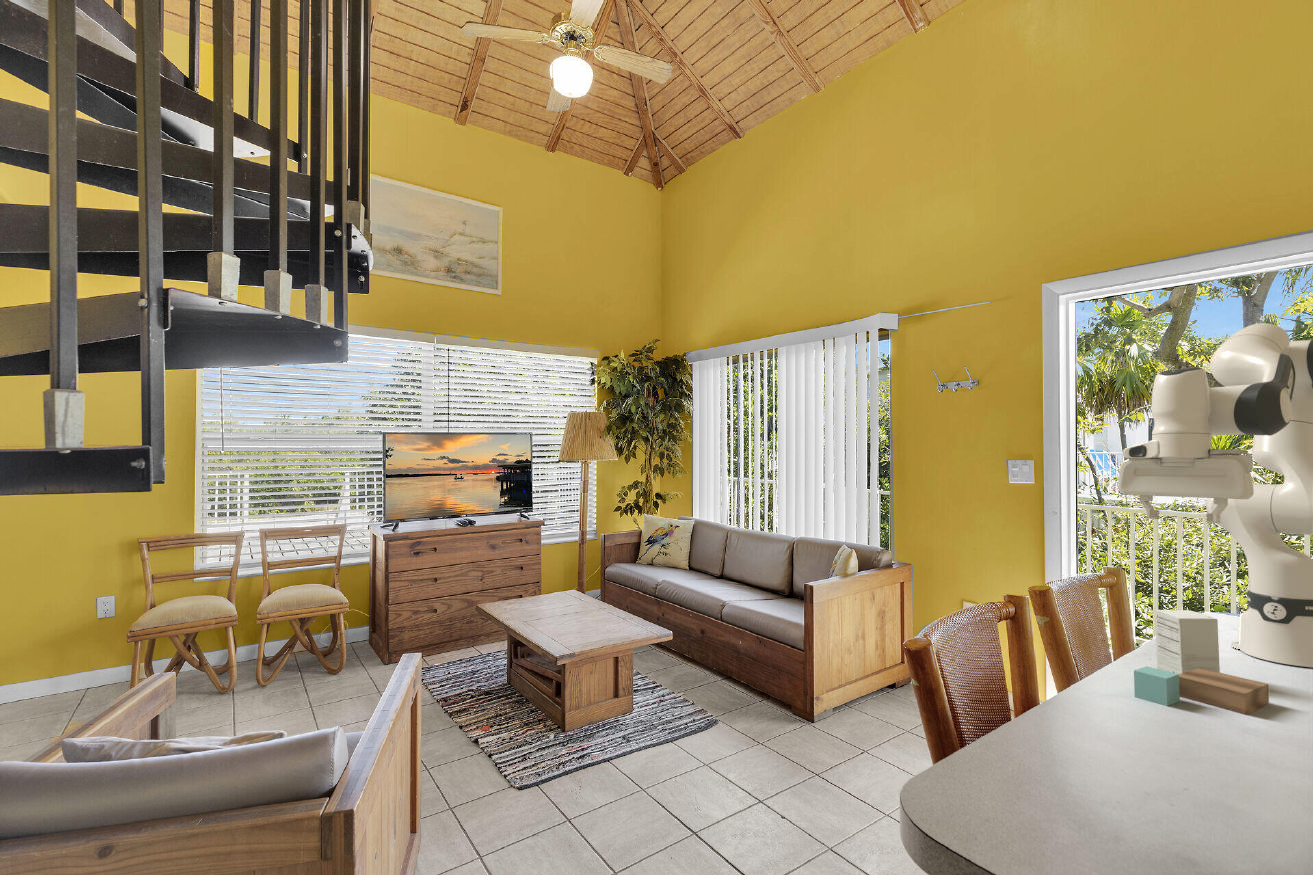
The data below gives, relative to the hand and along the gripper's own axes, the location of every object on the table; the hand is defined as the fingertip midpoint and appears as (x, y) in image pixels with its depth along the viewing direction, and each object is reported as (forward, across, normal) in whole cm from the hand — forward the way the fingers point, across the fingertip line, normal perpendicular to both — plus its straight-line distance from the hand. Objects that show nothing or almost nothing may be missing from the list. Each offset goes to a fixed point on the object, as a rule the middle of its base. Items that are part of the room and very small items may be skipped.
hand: (1182, 520), depth 119 cm
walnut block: (+33, -5, -2) cm, 33 cm away
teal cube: (+33, +1, +8) cm, 34 cm away
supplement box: (+32, +4, -13) cm, 35 cm away
